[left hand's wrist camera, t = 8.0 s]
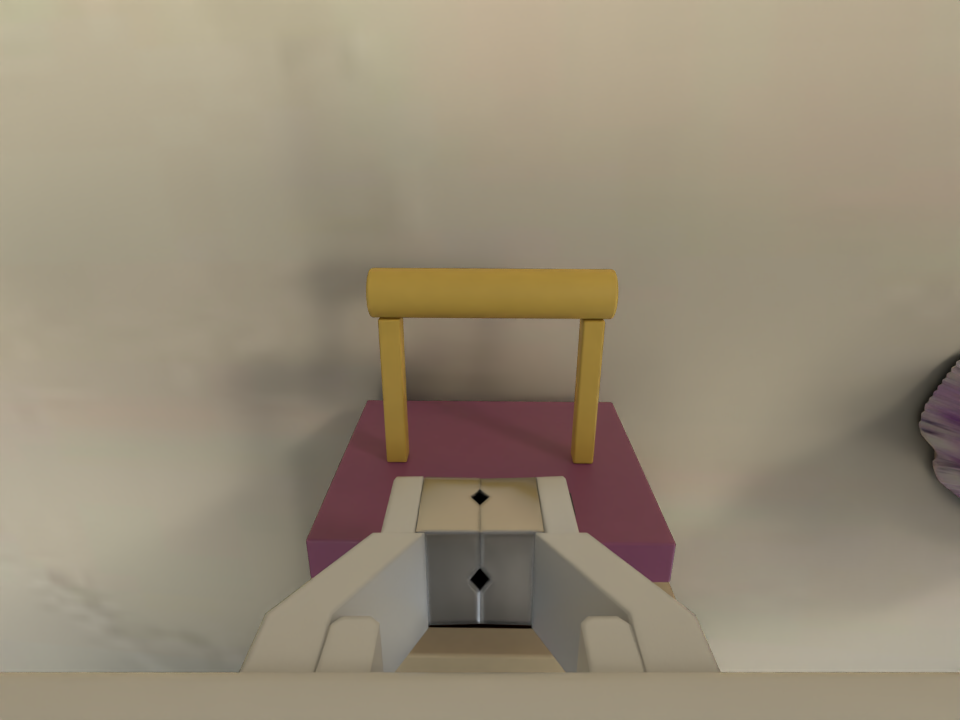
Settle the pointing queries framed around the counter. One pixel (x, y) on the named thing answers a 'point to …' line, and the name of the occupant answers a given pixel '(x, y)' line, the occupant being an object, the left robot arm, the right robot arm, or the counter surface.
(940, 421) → the figurine
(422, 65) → the counter surface
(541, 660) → the beige drawer cabinet
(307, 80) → the counter surface
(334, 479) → the drawer
